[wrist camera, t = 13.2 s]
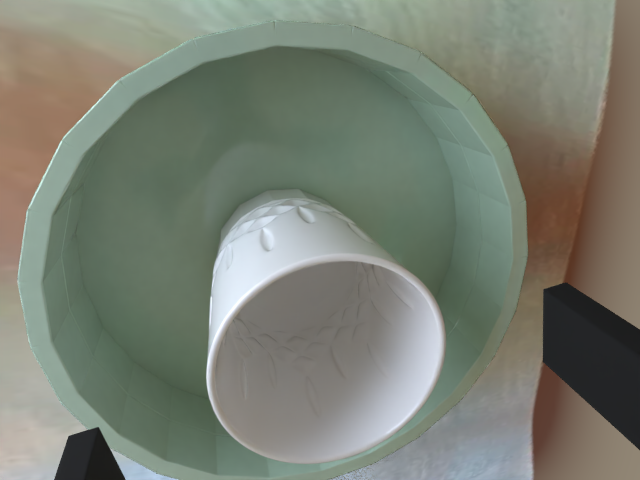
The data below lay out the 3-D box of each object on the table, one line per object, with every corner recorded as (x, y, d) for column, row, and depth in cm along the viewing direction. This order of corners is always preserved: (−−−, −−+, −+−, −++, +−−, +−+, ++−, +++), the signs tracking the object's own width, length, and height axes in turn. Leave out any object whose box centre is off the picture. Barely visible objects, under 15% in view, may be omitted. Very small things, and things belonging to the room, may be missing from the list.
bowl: (30, 13, 19) (-39, -3, 14) (489, 44, 24) (576, 41, 18) (91, 426, 26) (62, 523, 21) (434, 386, 31) (484, 457, 26)
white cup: (383, 210, 25) (488, 300, 16) (318, 335, 27) (379, 481, 18) (241, 149, 22) (270, 215, 13) (180, 293, 24) (167, 441, 15)
